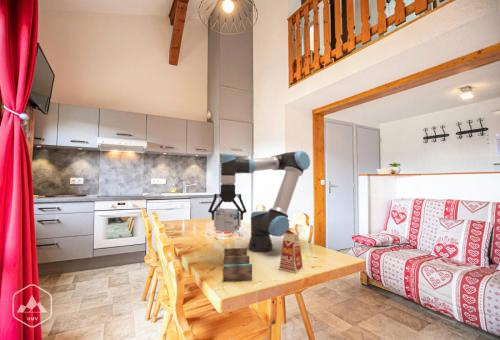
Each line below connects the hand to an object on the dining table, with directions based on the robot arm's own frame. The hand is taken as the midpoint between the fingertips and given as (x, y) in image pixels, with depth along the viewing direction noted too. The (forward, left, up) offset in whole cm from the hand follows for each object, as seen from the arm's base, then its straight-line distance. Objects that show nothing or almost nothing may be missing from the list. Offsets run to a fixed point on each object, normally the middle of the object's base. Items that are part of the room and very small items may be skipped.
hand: (227, 226), depth 126 cm
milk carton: (-30, +10, -19) cm, 37 cm away
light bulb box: (0, 0, -2) cm, 2 cm away
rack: (-4, +8, -19) cm, 21 cm away
